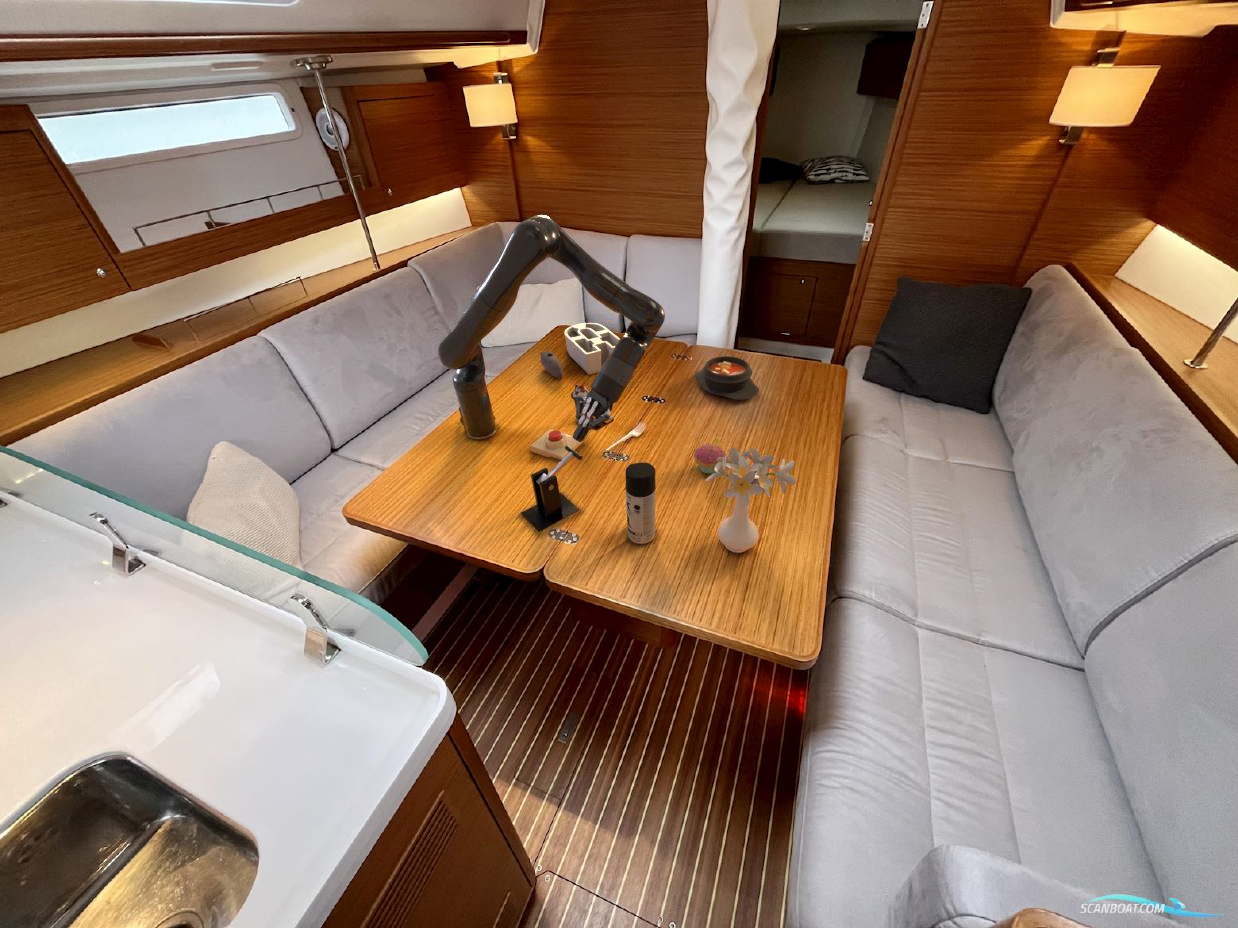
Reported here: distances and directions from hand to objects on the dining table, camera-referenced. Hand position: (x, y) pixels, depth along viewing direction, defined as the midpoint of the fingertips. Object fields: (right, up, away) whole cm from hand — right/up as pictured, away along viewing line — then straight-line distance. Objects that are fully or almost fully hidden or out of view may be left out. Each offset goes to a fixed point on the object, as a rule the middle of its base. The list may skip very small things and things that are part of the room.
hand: (576, 440), depth 121 cm
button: (-9, +2, +27) cm, 28 cm away
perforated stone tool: (-14, +28, +67) cm, 74 cm away
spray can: (+16, -23, -1) cm, 28 cm away
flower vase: (+38, -24, -4) cm, 46 cm away
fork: (+12, +1, +30) cm, 32 cm away
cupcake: (+35, -7, +18) cm, 40 cm away
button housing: (-8, -1, +29) cm, 30 cm away
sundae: (-1, +8, +40) cm, 41 cm away
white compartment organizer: (0, +37, +78) cm, 86 cm away
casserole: (+48, +21, +53) cm, 74 cm away
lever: (-4, -8, +1) cm, 9 cm away
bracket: (-7, -19, +6) cm, 21 cm away
